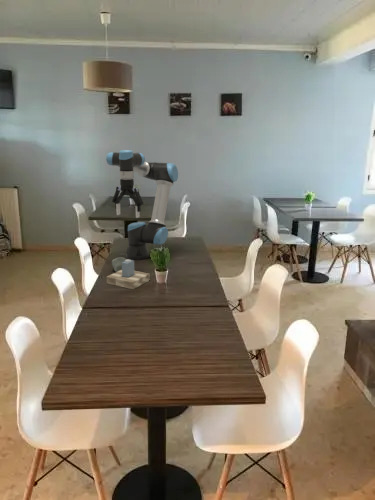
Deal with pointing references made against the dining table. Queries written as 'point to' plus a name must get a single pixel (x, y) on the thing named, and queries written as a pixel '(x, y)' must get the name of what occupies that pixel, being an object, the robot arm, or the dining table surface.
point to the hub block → (128, 279)
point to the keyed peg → (128, 268)
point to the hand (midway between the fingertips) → (128, 216)
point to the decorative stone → (118, 263)
